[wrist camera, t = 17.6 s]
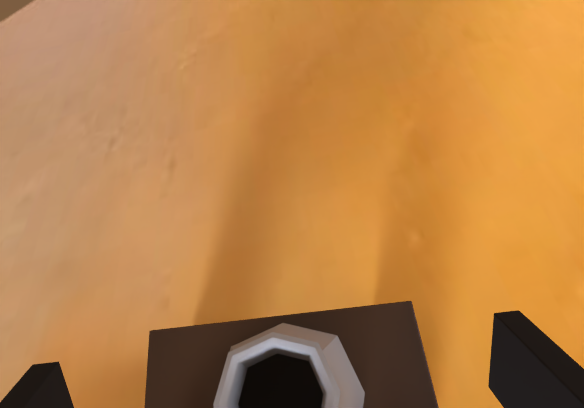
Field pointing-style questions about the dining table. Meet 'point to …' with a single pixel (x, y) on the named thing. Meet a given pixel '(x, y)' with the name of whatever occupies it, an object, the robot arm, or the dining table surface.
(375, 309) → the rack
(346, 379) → the flask
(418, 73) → the dining table surface
